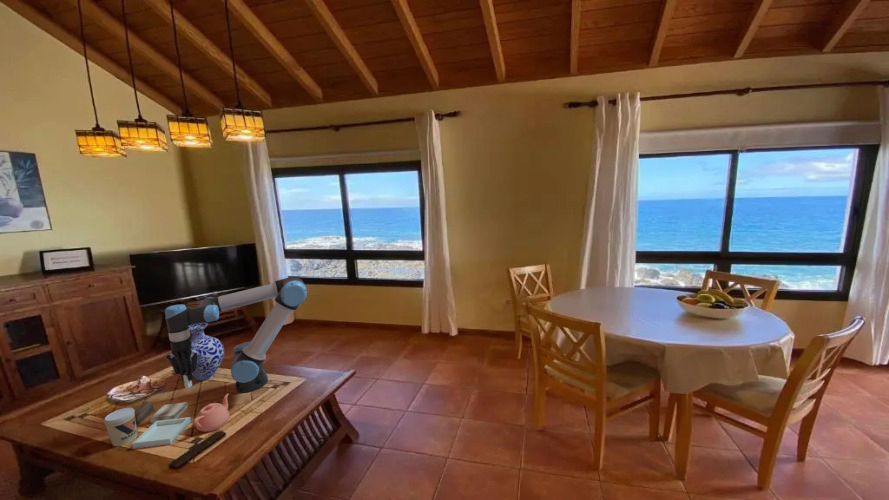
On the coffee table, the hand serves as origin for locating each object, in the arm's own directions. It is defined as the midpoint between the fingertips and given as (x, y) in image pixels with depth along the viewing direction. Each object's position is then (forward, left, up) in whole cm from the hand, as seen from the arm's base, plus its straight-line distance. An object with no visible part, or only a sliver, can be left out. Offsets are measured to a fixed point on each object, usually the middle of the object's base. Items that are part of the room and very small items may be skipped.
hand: (188, 386), depth 160 cm
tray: (+4, +15, -13) cm, 20 cm away
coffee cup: (+19, +15, -13) cm, 27 cm away
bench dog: (+22, 0, -13) cm, 25 cm away
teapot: (-15, +11, -13) cm, 23 cm away
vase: (+13, -35, -13) cm, 40 cm away
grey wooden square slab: (+10, 0, -13) cm, 17 cm away
